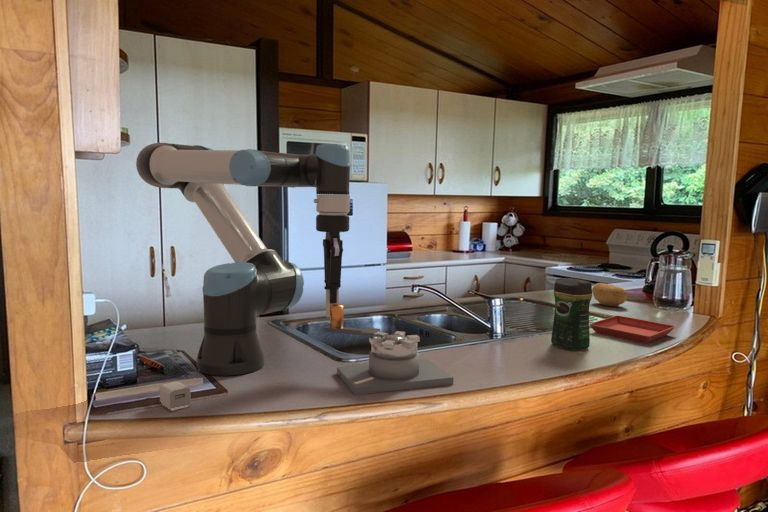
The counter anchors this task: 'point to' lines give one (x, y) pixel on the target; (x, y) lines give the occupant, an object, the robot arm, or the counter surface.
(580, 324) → the coffee jar
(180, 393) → the usb wall charger
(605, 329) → the plant saucer
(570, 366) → the counter surface
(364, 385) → the base plate
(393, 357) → the bar with orange knob
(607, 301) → the potato
